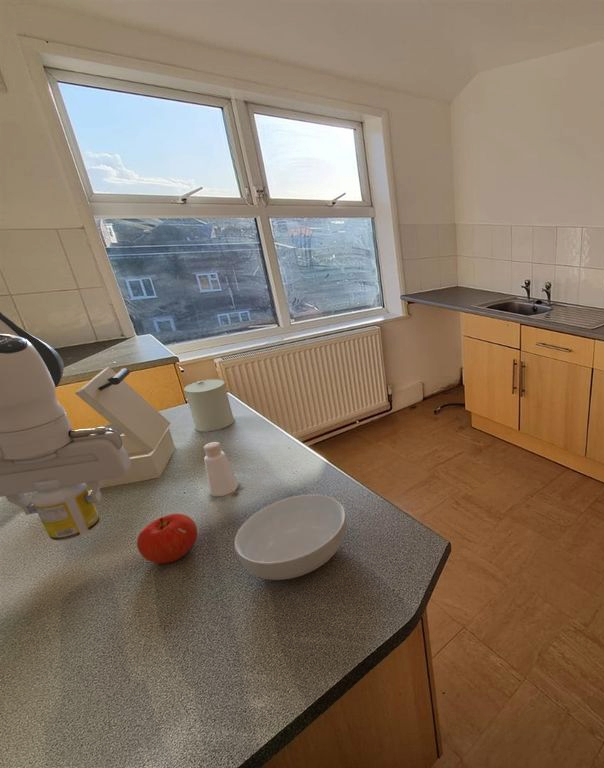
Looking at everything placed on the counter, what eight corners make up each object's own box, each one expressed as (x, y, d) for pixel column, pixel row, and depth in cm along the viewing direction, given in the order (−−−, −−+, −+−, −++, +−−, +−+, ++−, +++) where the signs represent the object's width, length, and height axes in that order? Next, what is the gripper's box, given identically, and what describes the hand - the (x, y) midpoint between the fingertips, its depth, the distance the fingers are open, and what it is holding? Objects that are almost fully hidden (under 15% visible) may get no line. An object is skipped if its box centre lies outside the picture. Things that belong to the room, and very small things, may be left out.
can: (225, 413, 125) (215, 374, 120) (240, 422, 120) (230, 382, 115) (189, 425, 118) (177, 384, 113) (203, 435, 113) (191, 393, 108)
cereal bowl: (285, 614, 64) (276, 579, 62) (222, 570, 72) (211, 537, 69) (370, 543, 78) (366, 512, 75) (310, 512, 86) (304, 483, 83)
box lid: (74, 393, 84) (102, 378, 85) (102, 370, 95) (127, 357, 96) (147, 454, 93) (172, 439, 94) (164, 426, 104) (187, 413, 105)
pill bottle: (100, 513, 80) (77, 459, 75) (102, 531, 76) (79, 475, 71) (50, 529, 76) (23, 473, 71) (50, 549, 71) (22, 491, 67)
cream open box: (62, 495, 89) (51, 472, 87) (89, 462, 101) (80, 440, 98) (159, 477, 95) (151, 455, 93) (175, 448, 107) (168, 427, 105)
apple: (213, 541, 78) (201, 505, 75) (172, 576, 71) (157, 538, 68) (176, 534, 79) (163, 499, 76) (132, 567, 72) (116, 530, 69)
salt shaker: (207, 499, 89) (192, 453, 84) (211, 485, 93) (198, 441, 89) (237, 493, 91) (224, 448, 87) (240, 479, 95) (228, 436, 91)
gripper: (123, 417, 75) (146, 483, 80) (-42, 437, 67) (-5, 509, 72) (109, 433, 70) (135, 503, 75) (-72, 458, 62) (-29, 533, 67)
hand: (65, 506), depth 74 cm, fingers closed on pill bottle, 6 cm apart
